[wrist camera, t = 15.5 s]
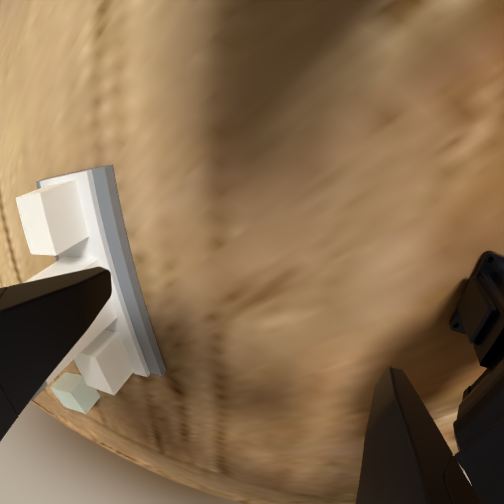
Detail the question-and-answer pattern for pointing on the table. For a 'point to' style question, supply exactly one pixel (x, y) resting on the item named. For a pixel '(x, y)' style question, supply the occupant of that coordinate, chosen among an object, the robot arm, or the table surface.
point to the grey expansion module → (99, 323)
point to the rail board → (110, 256)
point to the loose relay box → (75, 392)
